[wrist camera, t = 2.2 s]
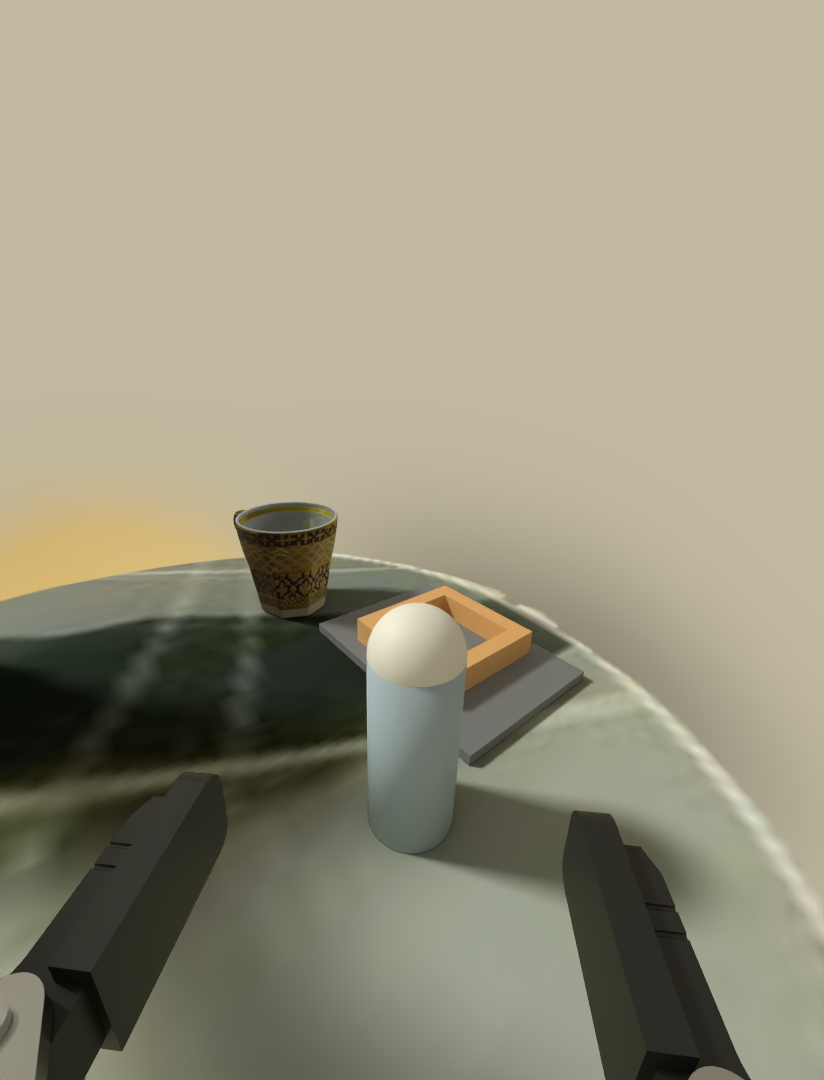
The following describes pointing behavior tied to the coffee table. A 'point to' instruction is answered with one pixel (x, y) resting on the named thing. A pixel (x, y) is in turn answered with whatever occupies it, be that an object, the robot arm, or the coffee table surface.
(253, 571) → the ceramic cup
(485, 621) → the jig
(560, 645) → the coffee table surface
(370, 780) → the pale grey cylinder
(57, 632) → the coffee table surface
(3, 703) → the coffee table surface
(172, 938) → the robot arm
